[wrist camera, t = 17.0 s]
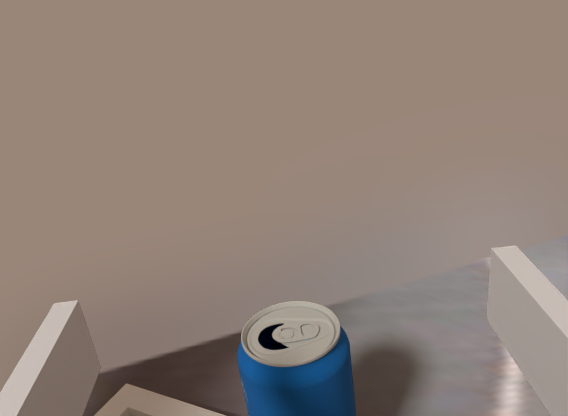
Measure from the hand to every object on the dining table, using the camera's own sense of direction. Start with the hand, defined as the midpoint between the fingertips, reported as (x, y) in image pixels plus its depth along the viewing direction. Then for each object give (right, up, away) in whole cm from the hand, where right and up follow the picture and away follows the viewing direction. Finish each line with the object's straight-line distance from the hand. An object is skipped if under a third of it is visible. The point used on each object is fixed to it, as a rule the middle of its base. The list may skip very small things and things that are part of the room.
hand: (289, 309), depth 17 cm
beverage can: (+2, -15, +18) cm, 23 cm away
